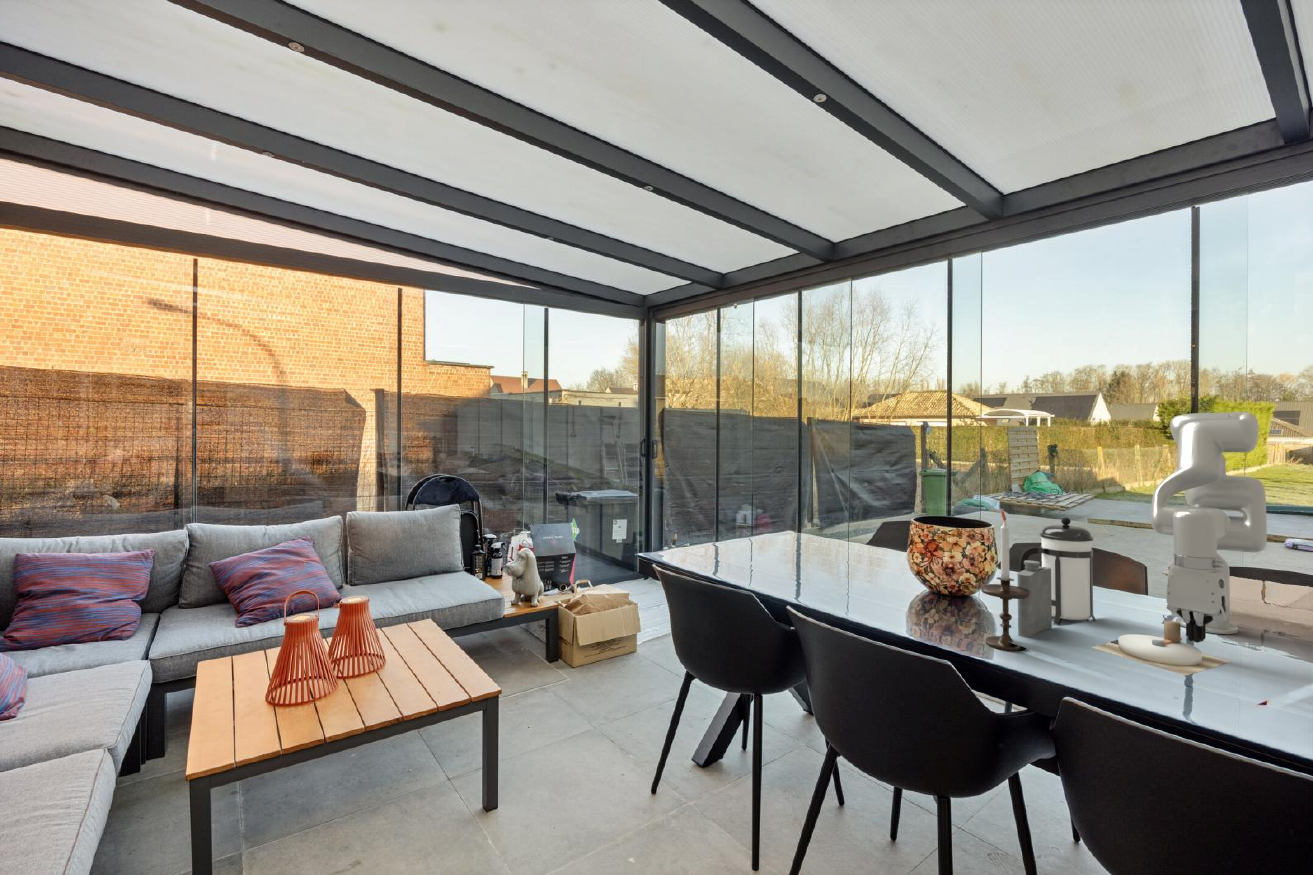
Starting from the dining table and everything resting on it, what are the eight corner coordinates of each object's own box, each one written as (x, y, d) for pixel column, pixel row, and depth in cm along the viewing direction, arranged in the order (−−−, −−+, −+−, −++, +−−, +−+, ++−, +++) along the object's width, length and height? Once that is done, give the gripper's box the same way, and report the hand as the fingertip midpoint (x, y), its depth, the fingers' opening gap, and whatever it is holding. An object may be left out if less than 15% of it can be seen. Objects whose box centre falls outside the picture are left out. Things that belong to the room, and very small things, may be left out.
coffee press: (1048, 608, 181) (1046, 512, 181) (1108, 622, 167) (1107, 518, 167) (1018, 617, 172) (1017, 516, 172) (1079, 632, 158) (1078, 522, 158)
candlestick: (988, 650, 145) (987, 510, 145) (976, 636, 156) (975, 506, 156) (1037, 654, 142) (1036, 512, 143) (1022, 640, 153) (1021, 507, 153)
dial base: (1135, 642, 151) (1135, 635, 151) (1231, 667, 133) (1231, 660, 133) (1091, 653, 143) (1090, 646, 143) (1186, 682, 126) (1186, 673, 126)
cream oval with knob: (1180, 669, 128) (1179, 640, 128) (1104, 647, 142) (1104, 621, 142) (1218, 657, 135) (1218, 629, 135) (1143, 638, 149) (1142, 612, 149)
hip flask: (1029, 643, 150) (1028, 566, 150) (1012, 639, 153) (1011, 563, 153) (1053, 631, 160) (1052, 558, 160) (1037, 627, 163) (1036, 556, 163)
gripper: (1245, 567, 131) (1246, 648, 131) (1165, 555, 145) (1166, 629, 145) (1228, 570, 128) (1229, 653, 128) (1148, 558, 142) (1149, 633, 142)
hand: (1195, 640), depth 137 cm, fingers closed
